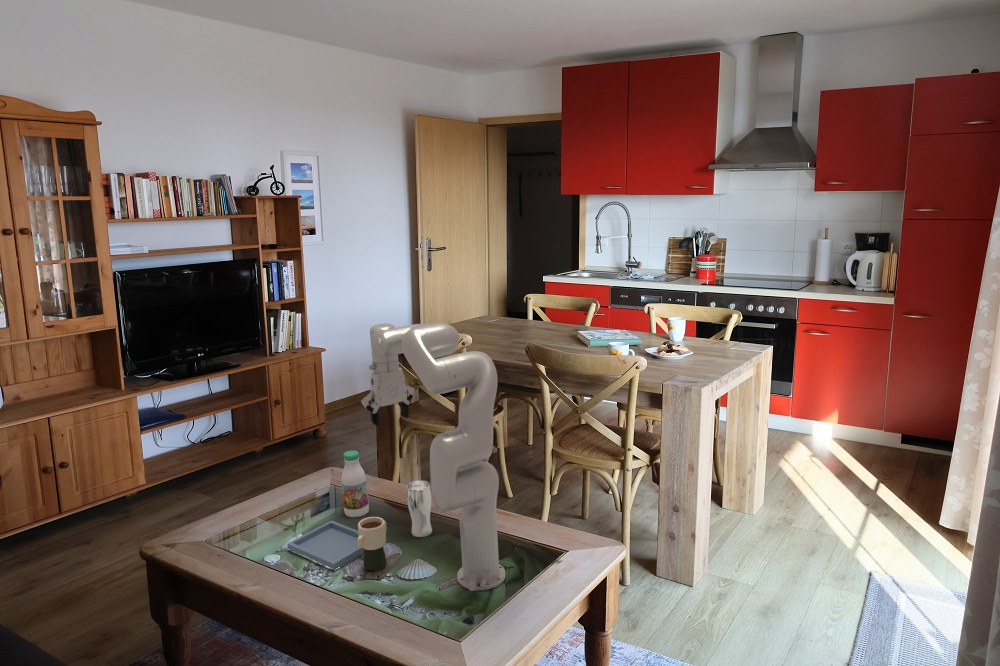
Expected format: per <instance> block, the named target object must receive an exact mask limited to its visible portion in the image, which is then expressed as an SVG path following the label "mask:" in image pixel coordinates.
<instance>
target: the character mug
mask: <svg viewBox="0 0 1000 666" xmlns="http://www.w3.org/2000/svg"><path fill="white" fill-rule="evenodd" d="M357 529H358V530H357V531H358V536H359V537H358V538H357V543H358V548H364V555H362V556H363V561H362V562H363V563H362V565H363V568H364V569H365V570H370V571H376V570H377V571H378V570H382V569H383V568H384V567H386V566H387V563H388V562H387V557H386V553H385V549H384V546H385V545H386V544H387V534H386V533H387V531H388V529H387V522H386V520H384V518H382V517H379V516H369V517H365V518H362V519H361V520H360V521H358V524H357Z"/></svg>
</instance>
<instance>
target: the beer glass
mask: <svg viewBox="0 0 1000 666" xmlns="http://www.w3.org/2000/svg"><path fill="white" fill-rule="evenodd" d="M406 499H407V500H406V501H407V507H408V512H409V515H410V519H411V535H412V536H413V537H416V538H425V537H428V536H430V535H431V534H432V533H433V528H432V525H431V512H432V511H431V509H432V495H431V485H430V483H429V481H427V480H414V481H411V482H409V483H408V484H407V485H406Z"/></svg>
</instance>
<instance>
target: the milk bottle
mask: <svg viewBox="0 0 1000 666" xmlns="http://www.w3.org/2000/svg"><path fill="white" fill-rule="evenodd" d="M359 459H360V454H359V452H358V450H348V451H345V452H344V453H343V461H344V467H343V470H342V473H341V480H340V483H341V493H342V494H341V495H342V501H343V503H342V504H343V510H344V515H345V516H347V517H349V518H360V517H362V516H365V515H367V514H368V513H369V511H370V503H369V502H370V501H369V492H368V485H367V484H368V483H367V477H366V474H365V473H366V472H365V470H364V469H363V468H362V466H361V463H360V460H359Z"/></svg>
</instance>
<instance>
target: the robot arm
mask: <svg viewBox="0 0 1000 666" xmlns="http://www.w3.org/2000/svg"><path fill="white" fill-rule="evenodd" d="M369 335H370V336H369V337H370V349H371V359H372V362H371V364H370V365H368V369H369V371H371V370H372V371H371V372H370V373H371V374H370V384H369V385H370V388H369V389H370V392H369V393H368V394H367V395H366V396H365V397H363V398H362V399H361V401H360V403H361V404H362V405H363V407H364V409H366V410H367V411H368V412H370V419H371V423H372V425H374V426H376V427H379V426H380V424H381V423H380V416H379V412H378V410H379V409H380V408H381V407H385V406H386V407H387V406H390V405H395V404H398V403H400V414H401V415H400V416H402V417H403V418H405V419H408V418H409V412H410V411H409V405H410V402H411V401H412V399H413V397H414V396H413V395H414V393H415V390H416V389H415V388H414V387H412V386H409V385H406V379H405V374H404V371H403V368H402V367H400V363H399V355H400V354H403V355H404V358H405V359H406V360H407V362H408V364H409V365H410V367H411V369H412V370H413V372H415V374H416V376H417V377H418V378H419V381H420V382H421V383H422V385H423V386H424V388H426V390H427V391H428V392H429V393H431V394H434V395H441V394H442V395H443V394H447V393H450V392H454V391H458V390H462V389H466V388H468V390H467V392H466V393H465V395H464V396H463V398H462V399H461V402H460V404H459V408H458V425H457V426H456V427H455V428H454V429H450V430H448V431H443V432H440V433H439V434H437V435H436V436H435V437H434V438H433V440H432V441H431V444H430V447H429V448H430V449H429V471H430V472H429V474H430V475H429V476H430V477H429V478H430V480H429V481H430V483H429V485H430V492H431V500H432V502H433V504H434V506H435V507H436V509H438V510H439V511H441V512H444V513H449V512H454V511H457V510H459V509H460V511H459V535H460V536H459V537H460V549H461V563H462V566H461V567H460V568H459V570H458V571H457V574H456V580H457V582H458V583H459V585H460V586H462V587H463V588H465V589H467V590H469V591H470V592H475V591H488V590H491V589H494V588H496V587H498V586H500V585H501V584H503V582H504V581H505V580H506V569H505V567H504V566H503V565H501V564H500V561H499V542H498V540H499V539H498V521H497V520H498V519H497V518H498V517H497V499H498V493H499V483H500V482H499V475H498V471H497V469H496V468H495V466H494V465H493V464H491V463H489V462H488V461H485V460H487V459H489V458H490V457H491V455H492V453H493V449H494V448H493V447H494V409H495V403H496V402H495V401H496V396H497V392H498V391H497V390H498V371H497V368H496V365H495V363H494V361H493V359H492V358H491V357H490V356H489V355H488V354H487V353H486V352H484V351H475V350H474V351H472V350H471V351H464V352H461V353H455V354H452V353H454V352H455V351H456V349H457V348H458V346H459V344H460V335H459V332H458V329H456V328H455V327H454V326H453V325H451V324H448V323H444V322H443V323H442V322H441V323H440V322H439V323H415V324H409V325H402V326H396V327H395V325H394V324H392V323H377V324H374V325H372V326H371V327H370V329H369ZM451 354H452V355H451ZM369 401H370V402H371V405H370V404H369Z"/></svg>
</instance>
